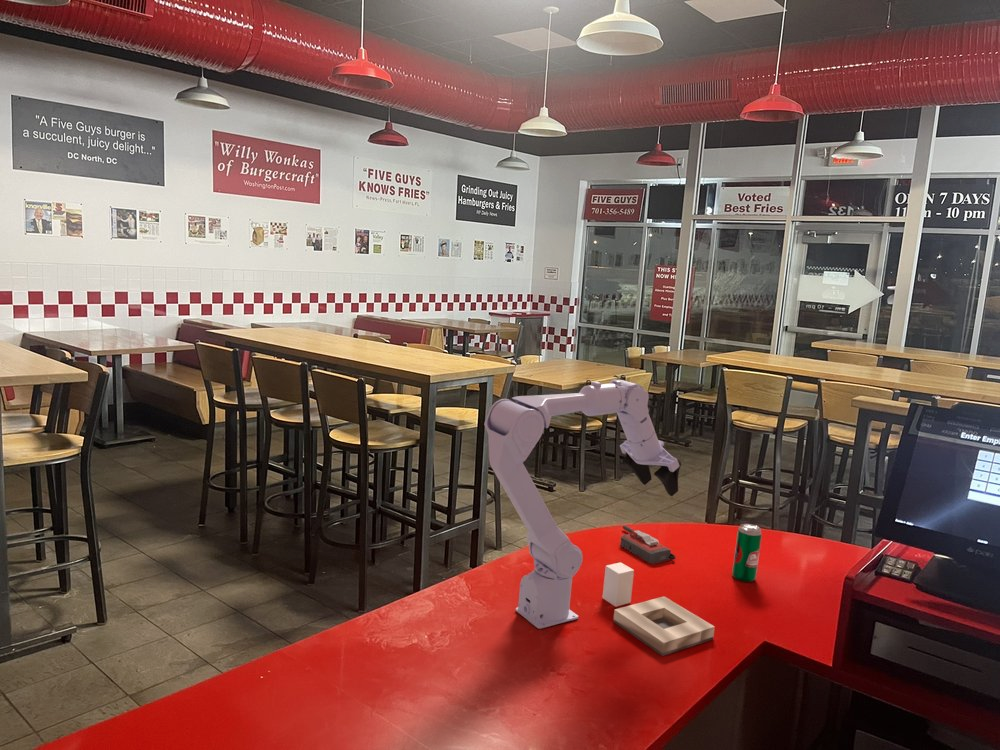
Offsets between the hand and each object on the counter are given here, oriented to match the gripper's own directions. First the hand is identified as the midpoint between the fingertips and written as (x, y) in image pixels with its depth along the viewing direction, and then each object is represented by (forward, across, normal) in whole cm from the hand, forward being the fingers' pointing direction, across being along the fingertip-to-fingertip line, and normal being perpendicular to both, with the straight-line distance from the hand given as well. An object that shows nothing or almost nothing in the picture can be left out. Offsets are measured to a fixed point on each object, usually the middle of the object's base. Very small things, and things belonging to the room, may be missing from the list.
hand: (660, 487), depth 148 cm
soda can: (+32, -4, -9) cm, 34 cm away
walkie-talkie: (+27, +19, -1) cm, 33 cm away
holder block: (+15, -13, +20) cm, 28 cm away
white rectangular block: (+15, 0, +20) cm, 25 cm away
